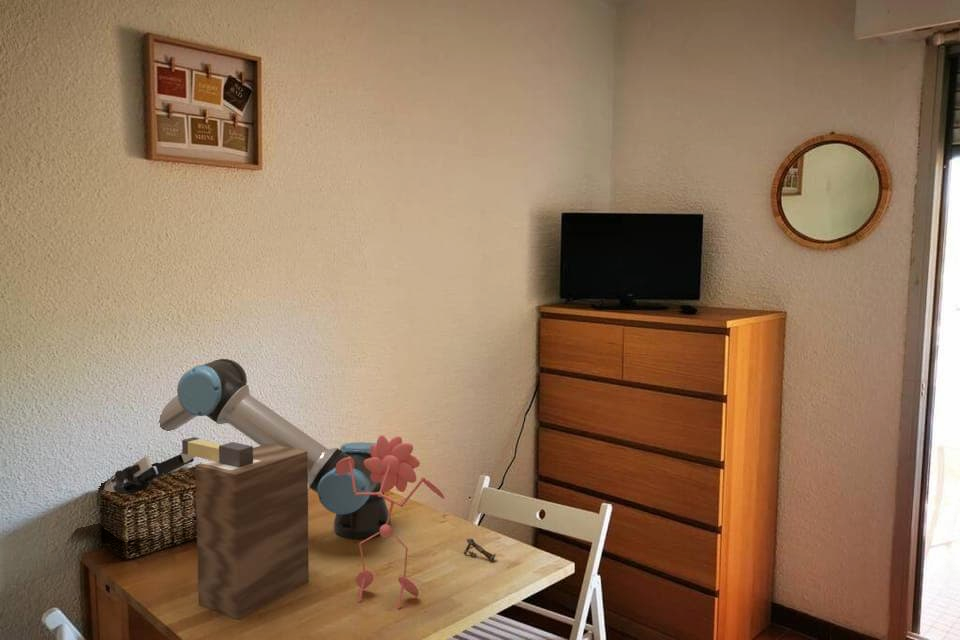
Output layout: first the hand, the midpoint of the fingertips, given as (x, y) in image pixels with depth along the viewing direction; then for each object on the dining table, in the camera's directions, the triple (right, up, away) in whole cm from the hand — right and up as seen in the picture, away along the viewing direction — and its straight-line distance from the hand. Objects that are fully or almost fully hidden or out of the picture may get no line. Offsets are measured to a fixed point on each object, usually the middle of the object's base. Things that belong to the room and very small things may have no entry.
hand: (174, 454), depth 173 cm
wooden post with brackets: (+72, -27, +5) cm, 77 cm away
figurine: (+53, -28, -12) cm, 61 cm away
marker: (+17, +3, -18) cm, 25 cm away
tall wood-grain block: (+23, -27, -14) cm, 39 cm away
